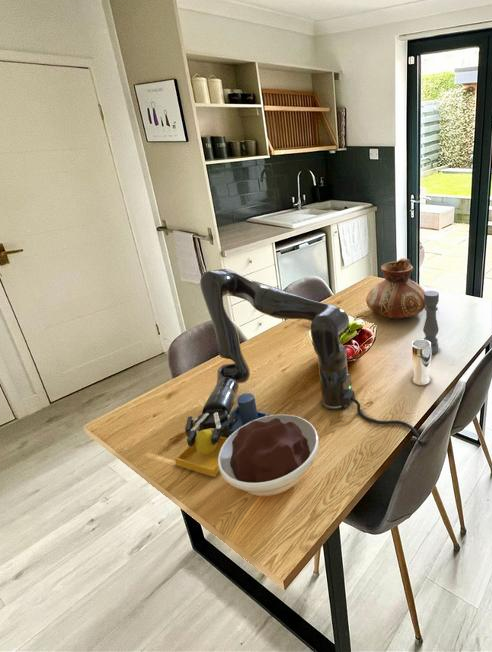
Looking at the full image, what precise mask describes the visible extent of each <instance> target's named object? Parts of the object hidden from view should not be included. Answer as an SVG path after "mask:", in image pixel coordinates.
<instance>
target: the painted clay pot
mask: <svg viewBox="0 0 492 652" xmlns="http://www.w3.org/2000/svg"><path fill="white" fill-rule="evenodd" d="M380 271H381V273H382V274H383V276H384V280H381V281H380V282H378V283H377V284H375V285H374V286H372V288H370V289H369V291H368V293H367V294H366V295H367V296H366V299H365V302H366V305H367V306H366V307H368V309H369V310H370V311H372V312H373V313H375V314H376V315H379V316H381V317H385V318H388V319H395V320H400V319H401V320H402V319H408V318H411V317H413V316H416V315H418V314H420V313H421V312H423V310H425V306H426V304H425V302H424V292H426V291H425V290H424V289H423V287H422V286H421V285H420V284H419V283H417V282H415V281H414V280H412V279H411V278H410V277H411V274H412V273H413V271H414V267H413V265H412V264H411V261H410V259H409V258H403V257H401V258H400V259H398V260H395V261H388V262H385V263H383V264H381V266H380Z"/></svg>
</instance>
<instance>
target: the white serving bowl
mask: <svg viewBox="0 0 492 652" xmlns="http://www.w3.org/2000/svg"><path fill="white" fill-rule="evenodd" d="M227 438H228V439H227V440H226V441H225V442H224V444H223V446H222V447H221V450H220V452H219V456H218V468H219V473H220V476H221V477H222V478H223V479H224V481H226V482H227V484H229V485H230V486H232V487H234V488H235V489H239V490H241V491H244V492H246V493H248V494H250V495H253V496H257V497H271V496H276V495H279V494H281V493H283V492H286V491H288V490H289V489H291V488H293V487H294V486H295V485H296V484H298V482H300V480H301V479H302V478H303V477H304V475H305V474H306V472H307V470H308V469H309V468H310V467H311V465H312V464H313V462H314V460H315V459H316V456H317V454H318V451H319V446H320V440H319V439H320V438H319V434H318V431H317V430H316V428H315V426H313V424H312V423H311V422H310V421H308V420H307V419H305V418H303V417H301V416H297V415H293V414H279V413H278V414H271V415H270V414H269V416H266V417H262V418H259V419H256V420H253V421H251V422H249V423H247V424H245V425H243V426H242V427H240V428H239V429H237V430H236V431H235V432H234V433H232V434H231V435H228V437H227Z"/></svg>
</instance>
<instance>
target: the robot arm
mask: <svg viewBox="0 0 492 652" xmlns="http://www.w3.org/2000/svg"><path fill="white" fill-rule="evenodd" d="M199 285H200V291H201V294H202V297H203V299H204V302H205V305H206V308H207V311H208V314H209V317H210V320H211V322H212V326H213V329H214V333H215V338H216V343H217V348H218V355H219V357H220V358H222V359H226V360H231V361H232V362H233V363H226V364H222V365H221V366H219V367H218V369H217V373H216V384H215V386H214V388H213V390H212V391H211V393H210V394H209V396H208V398H207V400H206V401H205V403H204V405H203V408H202V410H201V413H200V414H198V416H197V417H193V416H187V420H186V423H185V427H184V431H185V434H186V437H187V438H186V443H187V445H188V446H189V447H192V446H193V445H194V442H195V437H196V435H197V434H198V433H199V432H200V431H202V430H205V429H208V430H210V429H214V431H213V435H212V438H211V442H212V445H215V444H216V443H217V442H218V441H219V439H220V436H222V435H224V434H223V433H226V434H227V433H229V432H230V431H231V429H232V428H233V426H234V425H235V423H236V422H237V417H236V413H232V414H231V415H229V413H231V412H232V408H233V406H234V404H235V399H236V396H237V394H238V391H239V388H240V386H239V384H244V383H246V382H248V381H249V379H250V376H251V369H250V367H249V365H248V363H247V360H246V358H245V357H244V354H243V351H242V349H241V343H240V336H239V332H238V330H237V327H236V326H235V323H234V322H233V320H232V319H231V318H230V316H229V315H228V313H227V311H226V308H225V305H224V297H230V296H231V297H236V298H239V299H242V300H245V301H247V302H248V303H249V304H250V305H251V306H252V307H253V308H254V309H255V310H256V311H258V312H259V313H261V314H264V315H266V316H269V317H272V318H274V319H277V320H278V319H280V320H304V321H309V322H310V334H311V341H312V347H313V351H314V352H315V354H316V357H317V364H318V365H317V366H318V375H319V383H320V391H321V403H322V405H323V407H325V408H326V409H328V410H340V409H346V408H347V407H348V406H349V407H350V406H351V404H352V403H354V404H356V411H357V413H358V415H360V417H361V418H362V419H364V420H365V421H367V422H369V423H370V422H371V423H373V424H377V425H401V426H404V427H406V428H408V429H409V430H410V431H411V432H412V433H413V434H414V436H415V438H416V439H417V440H418V438H419V437H420V438H421V436H420V435H419V433H418V431H417V430H416V428H414V427H413V426H412V425H411V424H409V423H407V422H404V421H401V420H378V419H374V418H371V417H368V416H366V415H365V414H364V413H363V412H362V410H361V404H360V402H359V401H358V400H357V399H356V394H355V390H353V387H352V386H353V385H352V376H351V374H350V373H349V369H348V355H347V348H346V346H345V345H344V344H343V343H340V340H339V336H340V335H342V334H343V332H344V331H345V330H346V329H347V328H348V326H349V323H350V319H349V315H348V314H347V312H346V311H345V309H343V308H341V307H340V306H336V305H333V304H330V303H325V302H320V301H316V300H312V299H309V298H305V297H304V296H300V295H298V294H294V293H291V292H288V291H286V290H283V289H280V288H277V287H275V286H271V285H268V284H265V283H262V282H259V281H256V280H252V279H250V278H247V277H245V276H243V275H241V274H239V273H237V272H235V271H234V270H231V269H227V268H221V269H220V268H219V269H213V270H208V271H205V272H204V273H202V274H201V277H200V280H199ZM224 422H226V423H225V424H224V426H222V427H221V424H223V423H224ZM226 434H225V435H226ZM419 444H420V445H424V441H423V440H422V442H421V443H419Z"/></svg>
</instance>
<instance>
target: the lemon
mask: <svg viewBox="0 0 492 652" xmlns="http://www.w3.org/2000/svg"><path fill="white" fill-rule="evenodd" d="M213 433H214V431H213V430H211V429H205V430H202V431H200V432H199V433H198V434H197V435H196V437H195V446H196V449H197V451H198V452H199V453H201V454H209V453H211V452H213V451H214V450H215V448H216V446H217V443H216V444H215V445H212V442H211V438H212V435H213Z"/></svg>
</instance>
